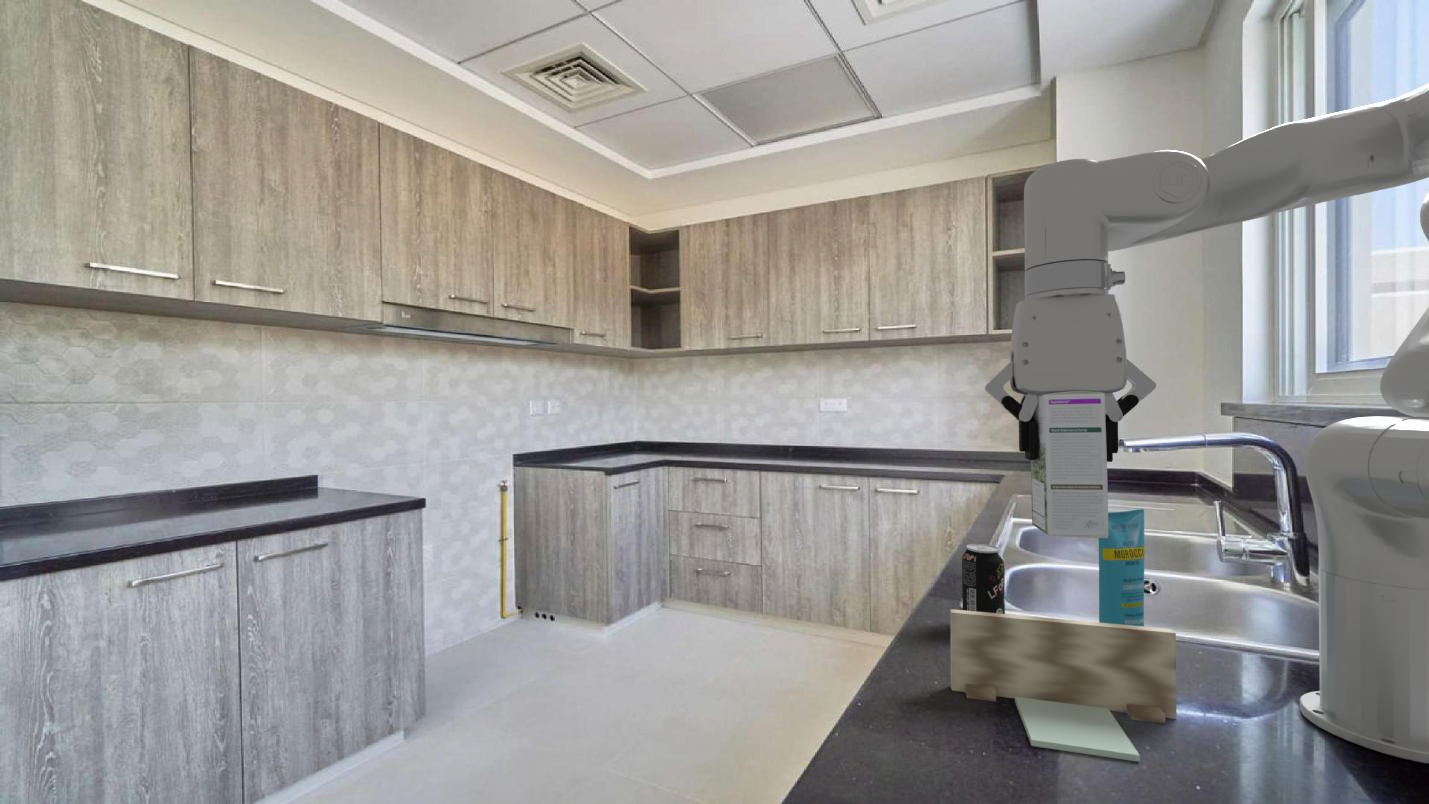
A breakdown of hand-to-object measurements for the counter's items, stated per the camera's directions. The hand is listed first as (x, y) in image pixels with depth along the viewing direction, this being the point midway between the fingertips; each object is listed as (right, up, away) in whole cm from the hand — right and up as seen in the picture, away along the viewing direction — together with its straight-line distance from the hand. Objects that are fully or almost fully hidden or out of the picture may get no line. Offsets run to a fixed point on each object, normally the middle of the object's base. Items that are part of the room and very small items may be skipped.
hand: (1066, 458), depth 62 cm
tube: (+17, -28, +16) cm, 36 cm away
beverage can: (+3, -28, +27) cm, 39 cm away
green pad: (0, -27, -1) cm, 27 cm away
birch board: (+2, -27, +5) cm, 28 cm away
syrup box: (0, -8, 0) cm, 8 cm away
